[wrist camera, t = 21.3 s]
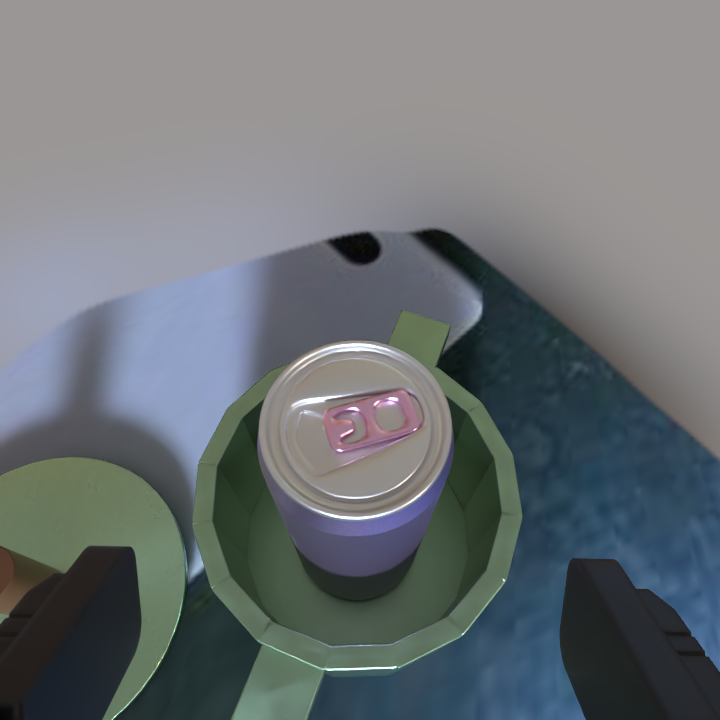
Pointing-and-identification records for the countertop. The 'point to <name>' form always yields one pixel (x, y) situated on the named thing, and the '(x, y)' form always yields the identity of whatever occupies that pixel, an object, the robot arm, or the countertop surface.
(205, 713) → the countertop surface
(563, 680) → the countertop surface
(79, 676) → the robot arm
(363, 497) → the beverage can
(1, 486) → the pot lid
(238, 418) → the pot
